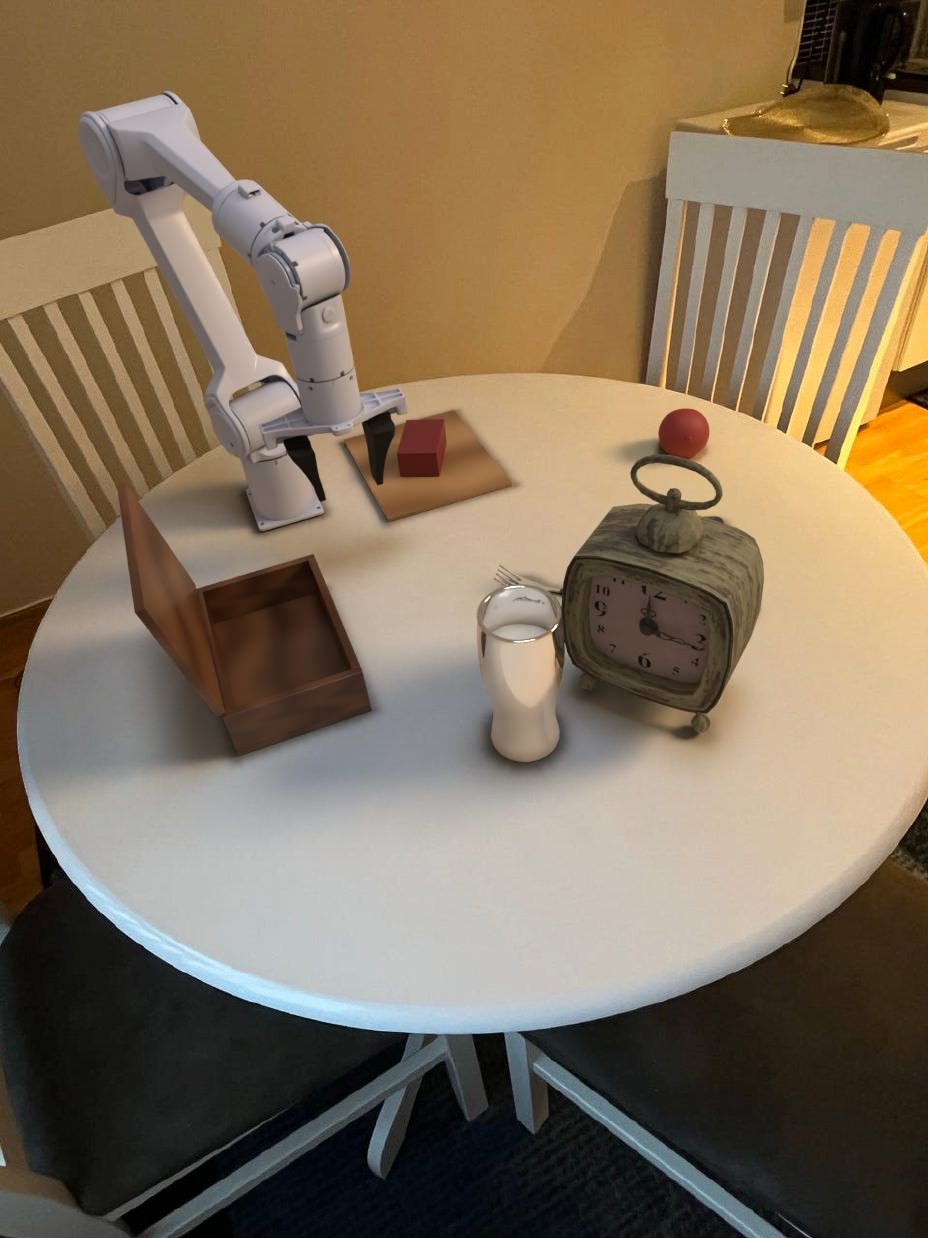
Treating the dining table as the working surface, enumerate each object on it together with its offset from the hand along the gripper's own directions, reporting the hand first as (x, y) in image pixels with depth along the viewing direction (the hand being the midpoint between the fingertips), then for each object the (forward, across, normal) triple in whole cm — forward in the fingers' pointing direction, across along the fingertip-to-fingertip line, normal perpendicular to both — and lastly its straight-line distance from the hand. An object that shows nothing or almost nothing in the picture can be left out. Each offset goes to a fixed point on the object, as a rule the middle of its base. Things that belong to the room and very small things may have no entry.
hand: (349, 487), depth 88 cm
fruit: (+10, +42, +1) cm, 43 cm away
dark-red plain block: (+9, +13, +15) cm, 22 cm away
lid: (-3, -19, -13) cm, 23 cm away
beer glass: (+10, +6, -31) cm, 33 cm away
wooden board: (+9, +12, +15) cm, 22 cm away
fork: (+10, +18, -16) cm, 26 cm away
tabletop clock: (+10, +19, -31) cm, 38 cm away
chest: (+9, -12, -13) cm, 20 cm away
